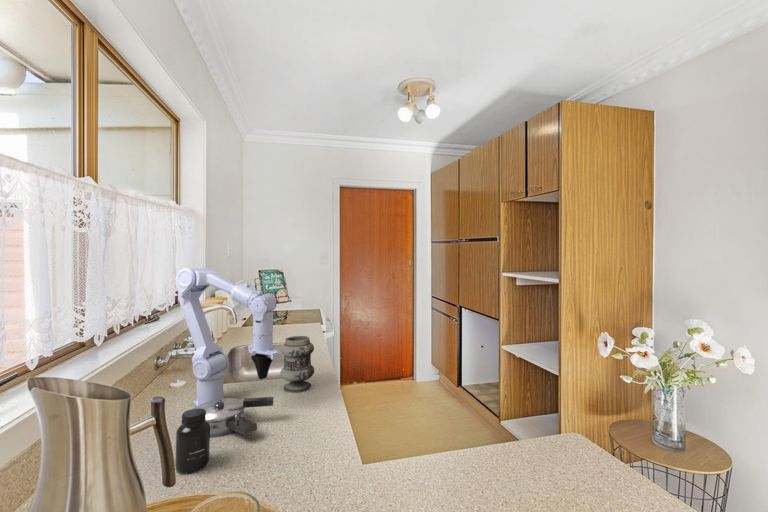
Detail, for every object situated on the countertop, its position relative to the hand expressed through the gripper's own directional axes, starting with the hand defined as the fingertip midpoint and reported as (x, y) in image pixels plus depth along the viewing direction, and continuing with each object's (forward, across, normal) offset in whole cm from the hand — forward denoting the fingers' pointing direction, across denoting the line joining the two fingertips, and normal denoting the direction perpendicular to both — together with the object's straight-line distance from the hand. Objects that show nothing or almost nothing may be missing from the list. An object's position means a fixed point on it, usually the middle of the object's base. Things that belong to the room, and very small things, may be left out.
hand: (262, 378), depth 108 cm
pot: (+10, +4, -13) cm, 16 cm away
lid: (+6, +2, -10) cm, 12 cm away
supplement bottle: (+10, +14, -25) cm, 31 cm away
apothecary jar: (+10, -8, +18) cm, 22 cm away
